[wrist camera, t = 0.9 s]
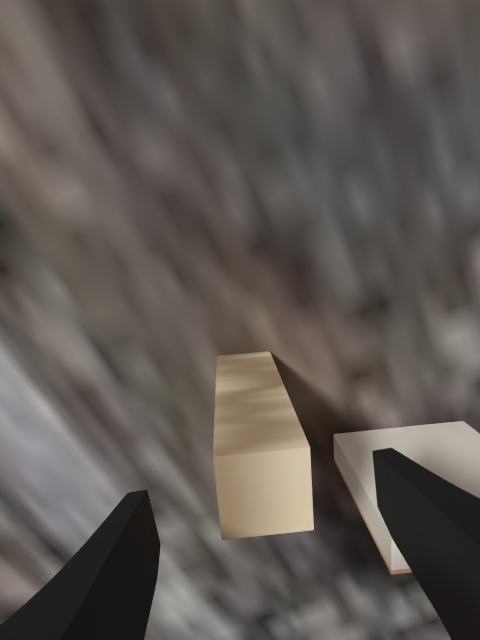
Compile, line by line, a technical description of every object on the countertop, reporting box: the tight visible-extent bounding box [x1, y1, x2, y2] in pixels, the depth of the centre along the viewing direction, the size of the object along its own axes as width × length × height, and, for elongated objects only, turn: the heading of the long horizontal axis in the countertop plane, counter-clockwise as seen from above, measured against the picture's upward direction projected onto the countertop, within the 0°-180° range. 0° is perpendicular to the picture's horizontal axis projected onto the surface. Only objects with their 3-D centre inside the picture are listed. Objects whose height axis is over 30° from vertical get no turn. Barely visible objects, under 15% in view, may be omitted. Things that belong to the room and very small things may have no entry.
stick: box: [213, 351, 314, 540], centre depth 17 cm, size 3×3×10 cm
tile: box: [333, 421, 480, 575], centre depth 19 cm, size 8×2×8 cm, turn 95°
